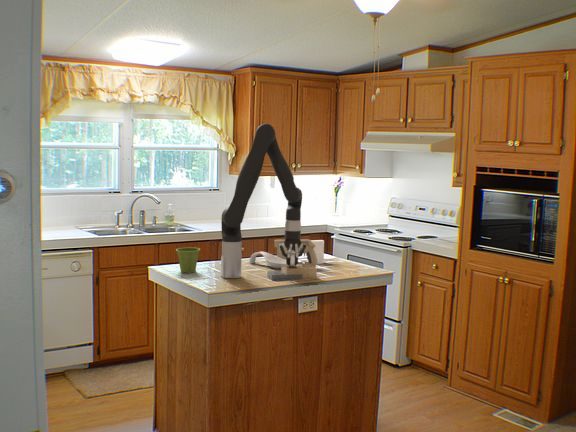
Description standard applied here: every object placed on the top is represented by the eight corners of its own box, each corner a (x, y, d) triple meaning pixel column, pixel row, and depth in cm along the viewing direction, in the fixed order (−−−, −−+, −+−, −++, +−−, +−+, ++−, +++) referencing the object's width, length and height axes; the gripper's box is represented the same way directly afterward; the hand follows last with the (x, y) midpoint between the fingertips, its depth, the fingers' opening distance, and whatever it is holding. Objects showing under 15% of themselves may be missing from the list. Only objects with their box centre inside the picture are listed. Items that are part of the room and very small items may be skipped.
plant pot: (190, 268, 303) (190, 246, 302) (204, 272, 294) (204, 249, 293) (170, 271, 295) (170, 248, 293) (184, 275, 286) (184, 252, 285)
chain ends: (271, 280, 279) (272, 269, 279) (267, 276, 288) (267, 266, 287) (316, 278, 285) (316, 268, 285) (310, 274, 294) (310, 264, 293)
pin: (289, 272, 284) (289, 251, 283) (286, 270, 287) (287, 250, 286) (296, 272, 285) (297, 251, 284) (294, 270, 288) (294, 250, 287)
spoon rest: (293, 267, 312) (294, 254, 312) (281, 271, 303) (281, 257, 302) (257, 262, 325) (257, 249, 325) (244, 265, 316) (244, 251, 315)
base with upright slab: (319, 260, 333) (320, 239, 332) (326, 263, 325) (326, 241, 324) (304, 261, 330) (305, 239, 329) (311, 264, 322) (311, 242, 320)
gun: (318, 268, 311) (316, 239, 310) (315, 269, 308) (313, 240, 307) (278, 266, 323) (276, 239, 322) (275, 267, 320) (273, 240, 319)
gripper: (280, 230, 278) (279, 267, 280) (309, 230, 282) (308, 266, 284) (276, 228, 286) (275, 264, 287) (304, 228, 289) (303, 263, 291)
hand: (292, 265), depth 286 cm, fingers closed on pin, 3 cm apart
